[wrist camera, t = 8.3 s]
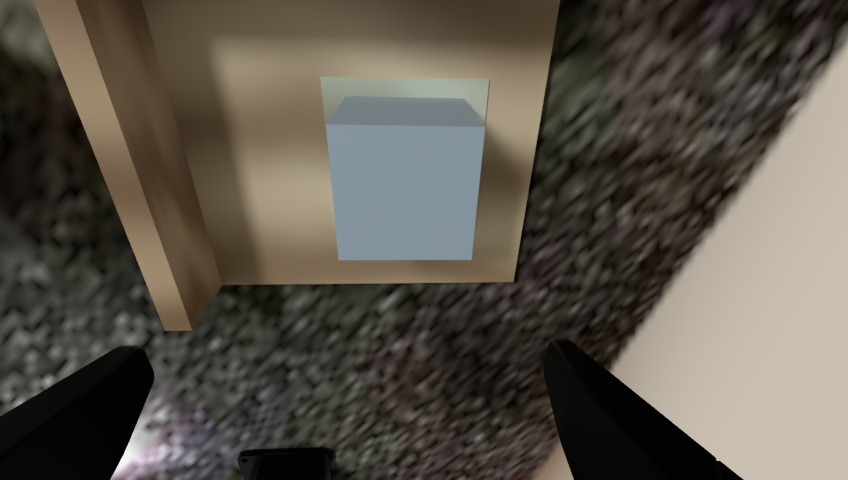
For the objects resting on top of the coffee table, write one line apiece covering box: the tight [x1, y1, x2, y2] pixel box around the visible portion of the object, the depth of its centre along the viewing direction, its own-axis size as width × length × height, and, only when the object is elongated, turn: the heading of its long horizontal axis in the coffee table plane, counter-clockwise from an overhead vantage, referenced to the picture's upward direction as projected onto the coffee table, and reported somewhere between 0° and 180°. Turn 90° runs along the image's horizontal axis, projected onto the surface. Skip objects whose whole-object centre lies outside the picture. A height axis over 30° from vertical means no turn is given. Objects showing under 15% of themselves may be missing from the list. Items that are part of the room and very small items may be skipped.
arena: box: [33, 0, 560, 331], centre depth 17 cm, size 15×17×4 cm
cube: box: [326, 96, 485, 260], centre depth 16 cm, size 5×5×5 cm
